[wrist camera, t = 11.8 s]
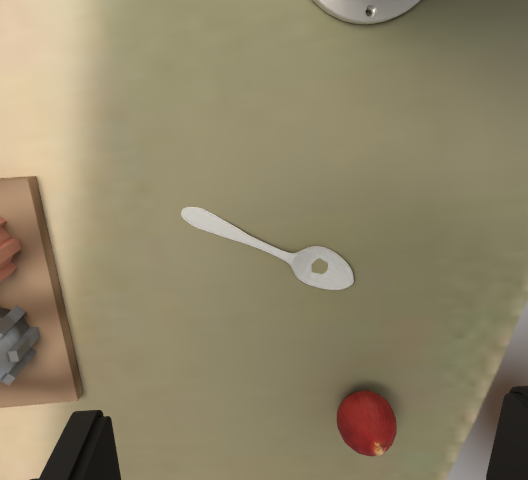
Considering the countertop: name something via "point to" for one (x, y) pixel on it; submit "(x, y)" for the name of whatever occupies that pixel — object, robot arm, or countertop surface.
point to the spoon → (280, 252)
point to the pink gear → (7, 252)
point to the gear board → (33, 308)
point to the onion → (366, 423)
